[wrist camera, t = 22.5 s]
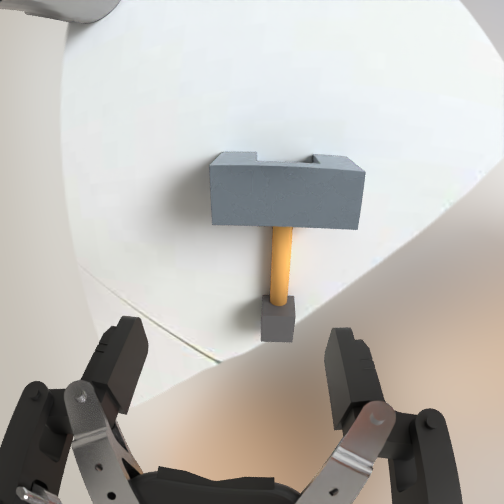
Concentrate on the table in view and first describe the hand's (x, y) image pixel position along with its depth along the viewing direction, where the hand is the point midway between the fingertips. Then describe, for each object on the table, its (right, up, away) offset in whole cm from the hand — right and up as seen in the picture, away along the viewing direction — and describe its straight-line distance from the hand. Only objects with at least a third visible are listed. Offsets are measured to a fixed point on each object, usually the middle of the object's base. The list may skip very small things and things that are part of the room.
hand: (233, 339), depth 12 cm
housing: (+5, +12, +22) cm, 25 cm away
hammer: (+5, 0, +28) cm, 29 cm away
